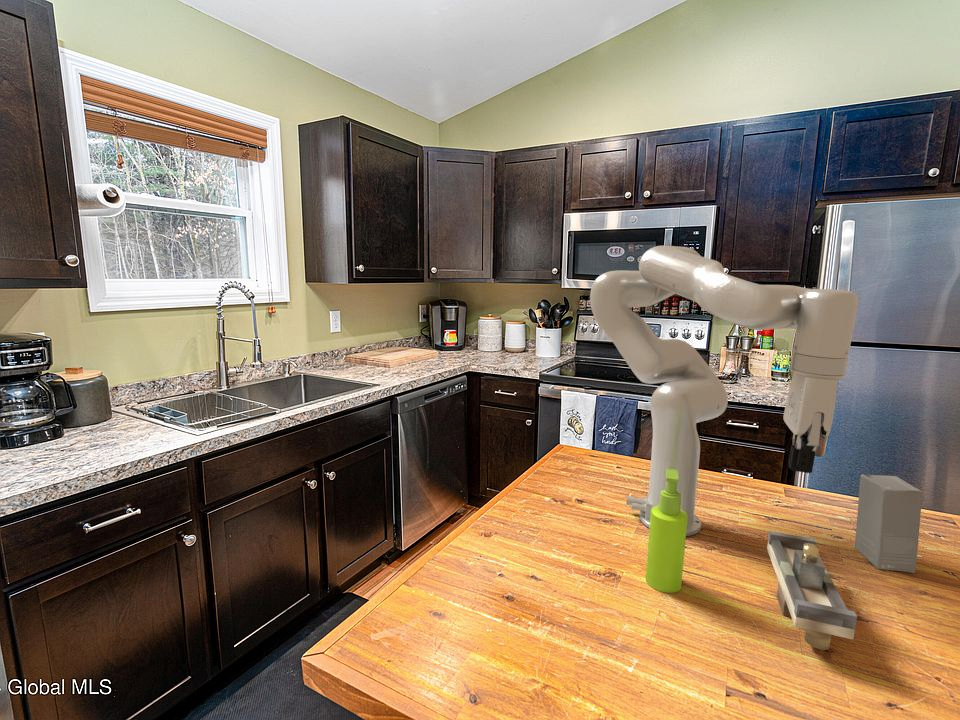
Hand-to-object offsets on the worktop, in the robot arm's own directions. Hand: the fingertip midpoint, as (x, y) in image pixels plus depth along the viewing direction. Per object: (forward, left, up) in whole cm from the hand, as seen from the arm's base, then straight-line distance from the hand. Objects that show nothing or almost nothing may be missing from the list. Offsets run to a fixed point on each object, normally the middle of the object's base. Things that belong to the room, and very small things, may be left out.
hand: (799, 469), depth 85 cm
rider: (+1, -9, -15) cm, 18 cm away
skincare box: (+19, +15, -21) cm, 32 cm away
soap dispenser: (-20, -8, -21) cm, 30 cm away
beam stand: (+1, -8, -21) cm, 22 cm away
